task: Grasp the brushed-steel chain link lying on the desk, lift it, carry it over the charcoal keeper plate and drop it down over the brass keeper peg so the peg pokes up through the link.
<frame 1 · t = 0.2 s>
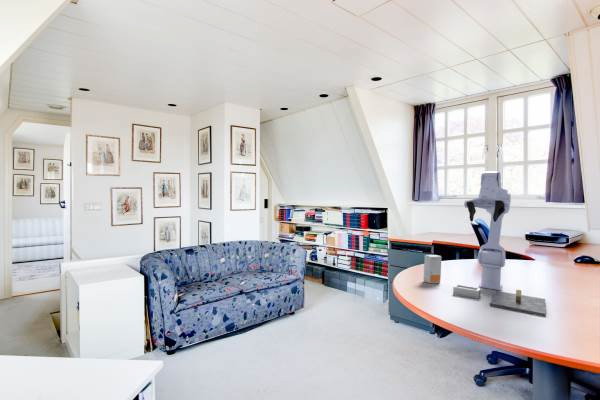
hand: (482, 219, 121), 31 cm above the table, tool tilted 45°, fingers open, 7 cm apart
link: (466, 294, 131), on the table
skincare box: (432, 282, 149), on the table
keeper: (518, 303, 122), on the table
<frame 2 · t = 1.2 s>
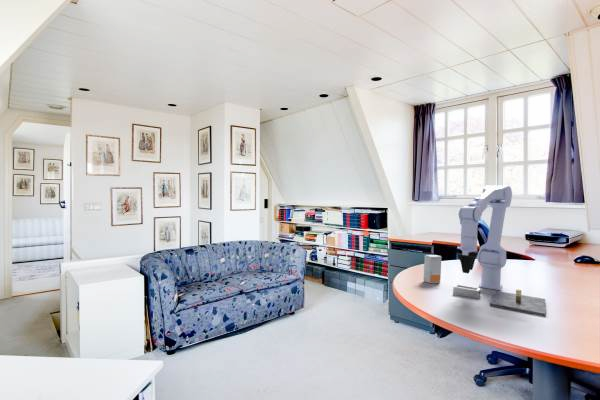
hand: (467, 271, 131), 9 cm above the table, tool pointing down, fingers open, 7 cm apart
nothing on the table moved.
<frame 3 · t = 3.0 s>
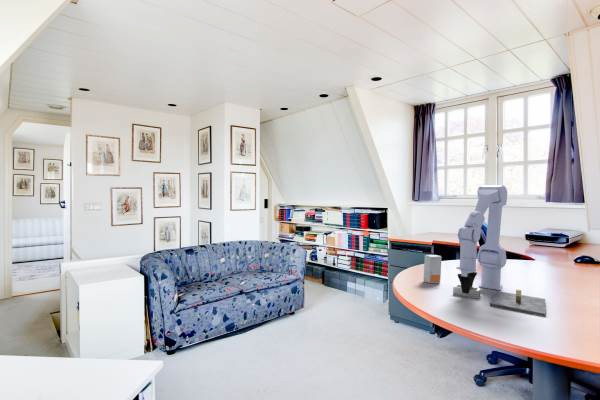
hand: (466, 291, 131), 1 cm above the table, tool pointing down, fingers closed on link, 5 cm apart
link: (466, 294, 131), on the table, touching gripper
everything else where it was.
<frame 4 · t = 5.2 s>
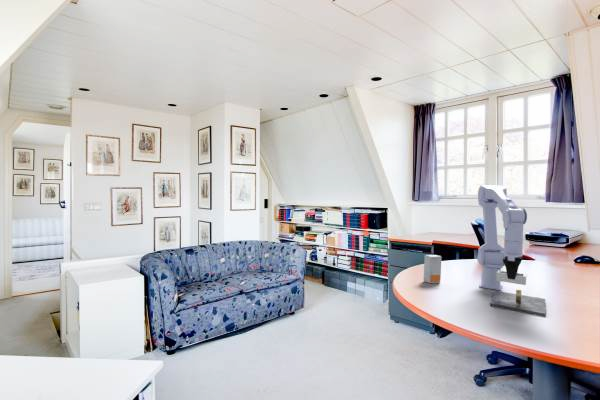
hand: (511, 277, 123), 9 cm above the table, tool pointing down, fingers closed on link, 5 cm apart
link: (511, 281, 123), point 8 cm above the table, touching gripper
everything else where it was.
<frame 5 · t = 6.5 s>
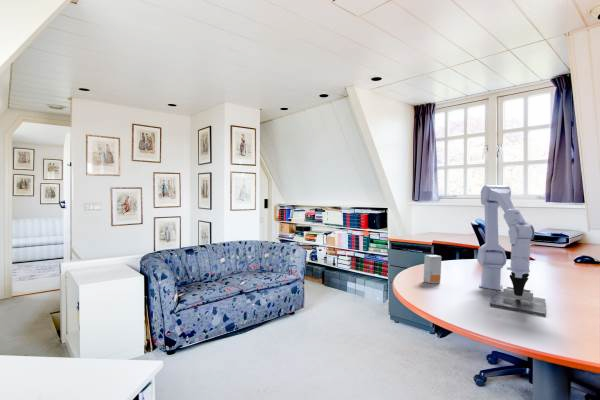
hand: (518, 293, 122), 4 cm above the table, tool pointing down, fingers closed on link, 5 cm apart
link: (517, 297, 122), point 2 cm above the table, touching gripper
everything else where it was.
when the fingers open (3 cm above the table, at t = 7.5 s): link stays where it is, resting on keeper.
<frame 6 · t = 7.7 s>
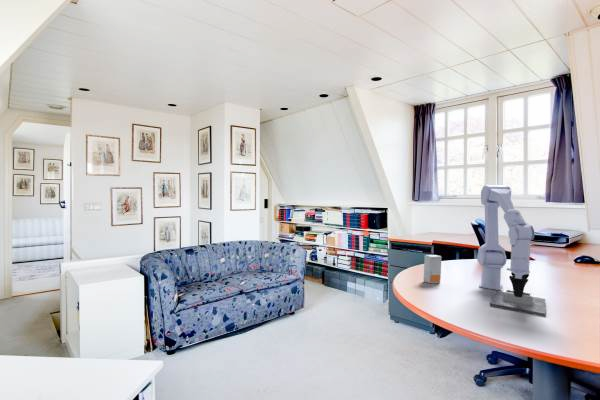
hand: (518, 294, 122), 3 cm above the table, tool pointing down, fingers open, 7 cm apart
link: (517, 300, 122), point 1 cm above the table, touching keeper
everything else where it was.
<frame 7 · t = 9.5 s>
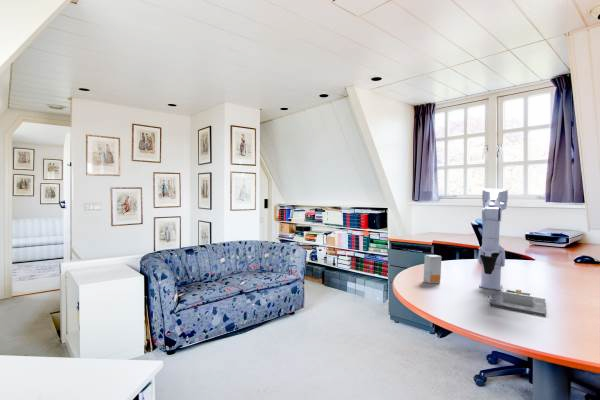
hand: (489, 272, 130), 9 cm above the table, tool pointing down, fingers open, 7 cm apart
nothing on the table moved.
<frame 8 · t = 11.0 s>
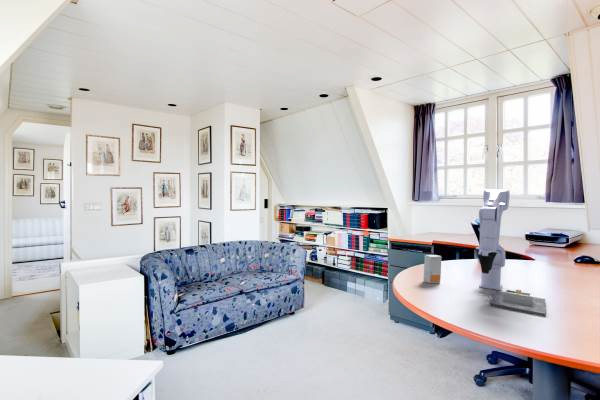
hand: (486, 271, 131), 9 cm above the table, tool pointing down, fingers open, 7 cm apart
nothing on the table moved.
at the end: link 0.2 cm off-centre on the keeper, point 1.0 cm above the keeper's base; the gripper is holding nothing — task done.
